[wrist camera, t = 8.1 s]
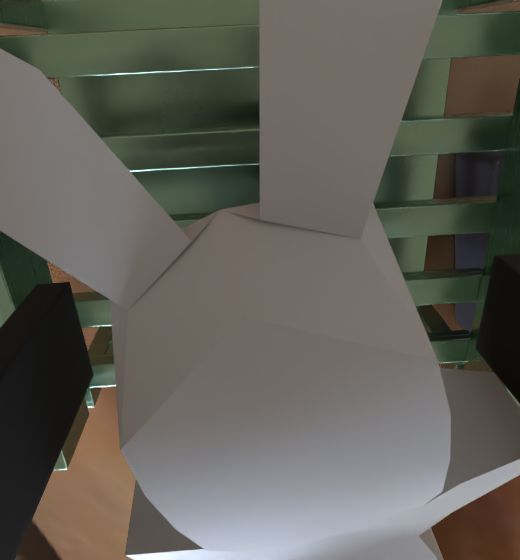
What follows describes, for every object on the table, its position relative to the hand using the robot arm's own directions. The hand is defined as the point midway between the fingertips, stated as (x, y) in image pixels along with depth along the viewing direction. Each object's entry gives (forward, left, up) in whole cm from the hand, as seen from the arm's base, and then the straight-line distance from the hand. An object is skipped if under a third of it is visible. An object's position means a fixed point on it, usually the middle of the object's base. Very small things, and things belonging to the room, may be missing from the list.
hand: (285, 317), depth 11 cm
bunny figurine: (0, 0, 0) cm, 1 cm away
